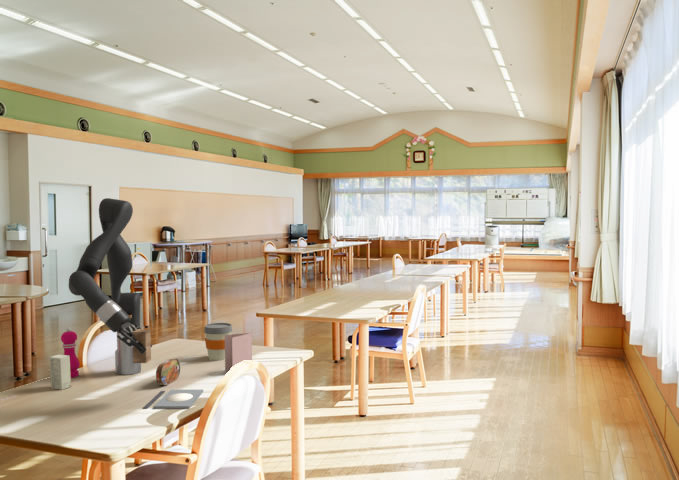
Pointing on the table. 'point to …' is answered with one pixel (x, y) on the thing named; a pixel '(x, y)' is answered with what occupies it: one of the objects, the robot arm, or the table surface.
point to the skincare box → (60, 371)
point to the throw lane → (175, 399)
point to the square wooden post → (145, 340)
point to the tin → (168, 372)
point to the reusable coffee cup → (216, 339)
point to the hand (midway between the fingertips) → (147, 349)
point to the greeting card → (237, 349)
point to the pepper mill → (71, 350)
